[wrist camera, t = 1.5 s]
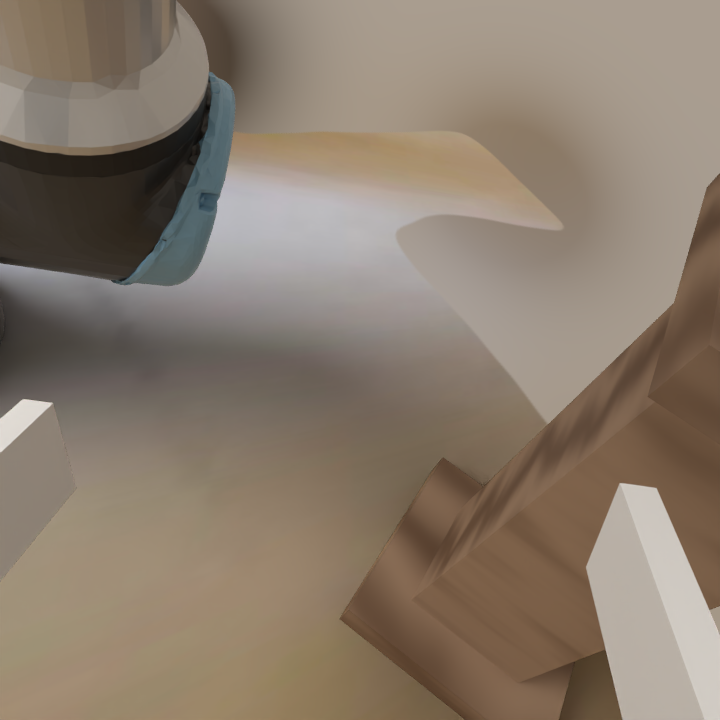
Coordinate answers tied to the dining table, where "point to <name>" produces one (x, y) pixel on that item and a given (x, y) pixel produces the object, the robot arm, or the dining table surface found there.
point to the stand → (556, 519)
